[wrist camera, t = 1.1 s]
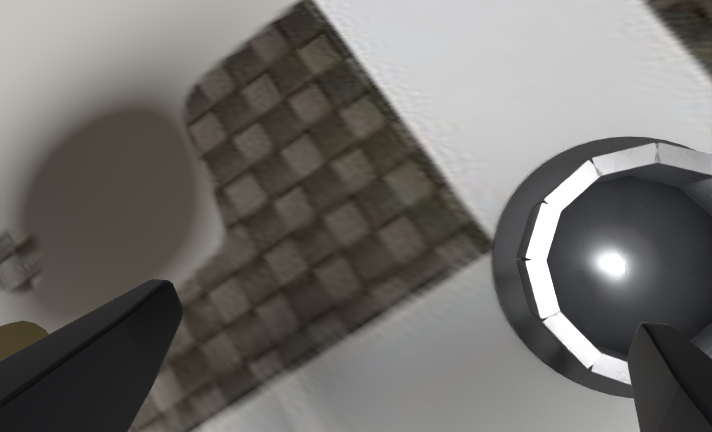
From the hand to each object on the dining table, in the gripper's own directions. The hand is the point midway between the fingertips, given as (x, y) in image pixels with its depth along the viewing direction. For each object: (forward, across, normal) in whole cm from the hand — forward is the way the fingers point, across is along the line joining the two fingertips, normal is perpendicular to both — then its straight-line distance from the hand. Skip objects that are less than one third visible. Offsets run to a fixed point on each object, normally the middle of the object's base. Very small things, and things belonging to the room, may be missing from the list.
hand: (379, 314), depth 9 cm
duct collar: (+12, -9, +8) cm, 17 cm away
